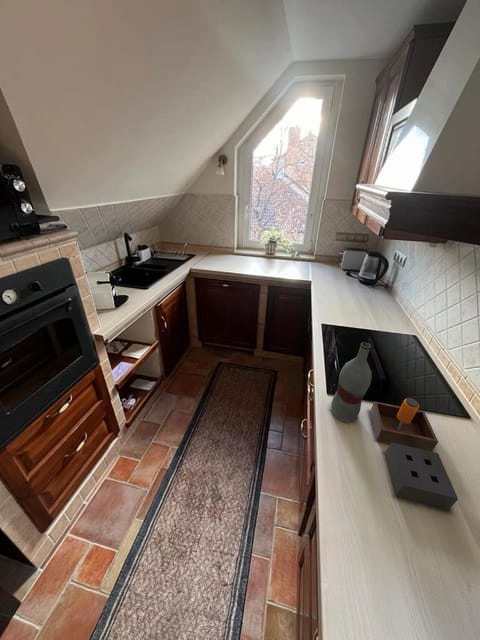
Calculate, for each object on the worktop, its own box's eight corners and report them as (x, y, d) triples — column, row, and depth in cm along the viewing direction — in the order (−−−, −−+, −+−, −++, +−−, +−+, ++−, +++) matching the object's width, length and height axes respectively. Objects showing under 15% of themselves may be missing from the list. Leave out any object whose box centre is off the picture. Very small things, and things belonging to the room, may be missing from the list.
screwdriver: (402, 426, 85) (417, 398, 78) (406, 436, 82) (421, 408, 75) (389, 423, 86) (403, 395, 79) (392, 433, 82) (407, 405, 76)
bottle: (329, 420, 88) (350, 350, 72) (329, 400, 95) (348, 333, 80) (358, 427, 85) (386, 356, 70) (356, 406, 93) (380, 339, 78)
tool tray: (417, 422, 87) (424, 411, 84) (430, 453, 78) (438, 441, 75) (369, 412, 91) (374, 401, 88) (375, 441, 81) (381, 429, 78)
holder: (429, 465, 75) (438, 452, 72) (447, 511, 64) (458, 499, 61) (384, 454, 77) (390, 442, 74) (395, 497, 67) (403, 485, 64)
